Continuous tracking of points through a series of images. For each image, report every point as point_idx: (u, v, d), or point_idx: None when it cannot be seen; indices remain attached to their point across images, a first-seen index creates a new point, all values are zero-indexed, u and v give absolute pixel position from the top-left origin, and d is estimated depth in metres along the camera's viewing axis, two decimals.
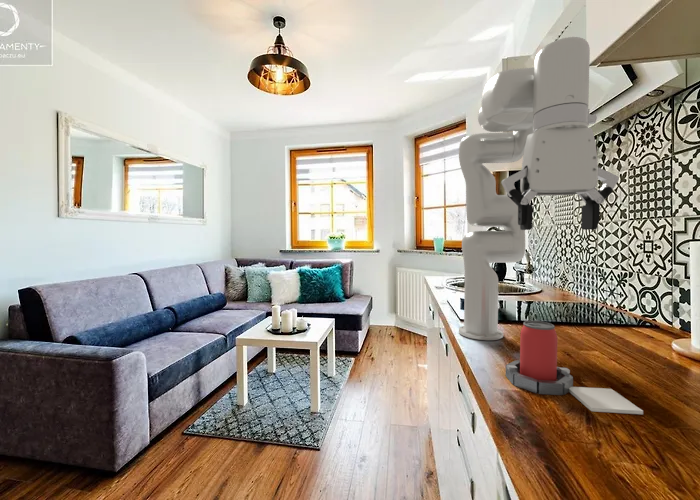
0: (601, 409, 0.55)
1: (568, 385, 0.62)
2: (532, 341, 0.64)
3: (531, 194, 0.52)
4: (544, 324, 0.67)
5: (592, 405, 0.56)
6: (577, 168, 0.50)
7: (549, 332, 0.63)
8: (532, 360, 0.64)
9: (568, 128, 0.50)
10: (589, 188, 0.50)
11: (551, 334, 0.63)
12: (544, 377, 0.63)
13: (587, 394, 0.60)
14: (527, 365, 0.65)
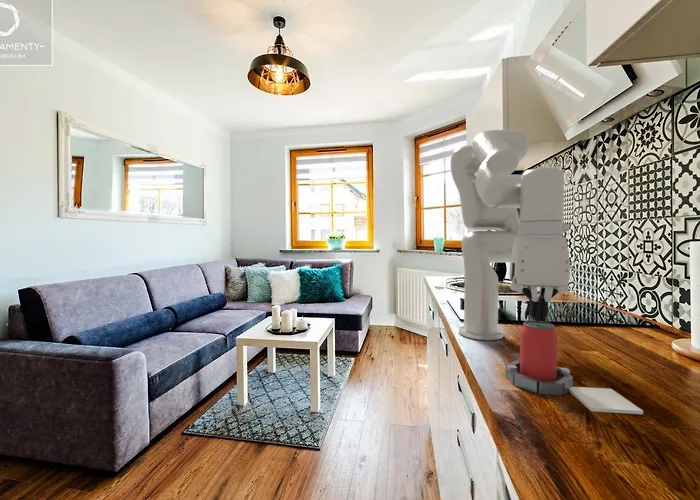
0: (601, 409, 0.55)
1: (568, 385, 0.62)
2: (532, 341, 0.64)
3: (534, 291, 0.65)
4: (544, 324, 0.67)
5: (592, 405, 0.56)
6: (553, 269, 0.63)
7: (549, 332, 0.63)
8: (532, 360, 0.64)
9: (546, 238, 0.63)
10: (563, 285, 0.64)
11: (551, 334, 0.63)
12: (544, 377, 0.63)
13: (587, 394, 0.60)
14: (527, 365, 0.65)
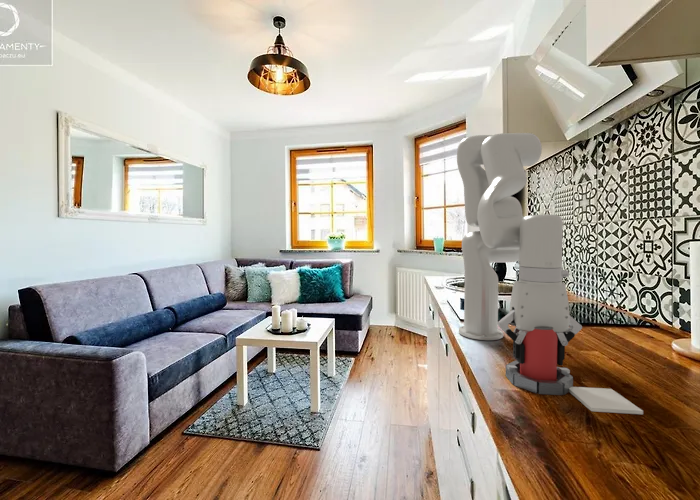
0: (601, 409, 0.55)
1: (568, 385, 0.62)
2: (532, 341, 0.64)
3: (522, 335, 0.65)
4: None
5: (592, 405, 0.56)
6: (553, 316, 0.63)
7: (549, 332, 0.63)
8: (532, 360, 0.64)
9: (546, 285, 0.63)
10: (562, 331, 0.64)
11: (551, 334, 0.63)
12: (544, 377, 0.63)
13: (587, 394, 0.60)
14: (527, 365, 0.65)
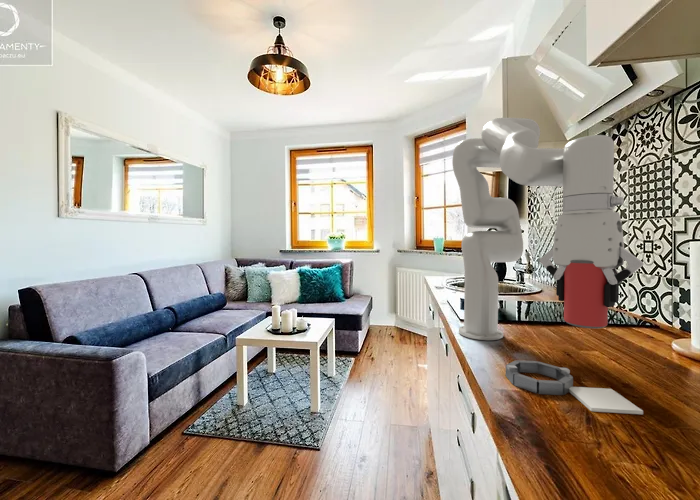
0: (601, 409, 0.55)
1: (568, 385, 0.62)
2: (567, 275, 0.60)
3: (560, 270, 0.62)
4: None
5: (592, 405, 0.56)
6: (592, 248, 0.57)
7: (585, 266, 0.57)
8: (567, 296, 0.60)
9: (582, 214, 0.58)
10: (607, 266, 0.56)
11: (587, 268, 0.57)
12: (577, 314, 0.58)
13: (587, 394, 0.60)
14: (564, 302, 0.61)
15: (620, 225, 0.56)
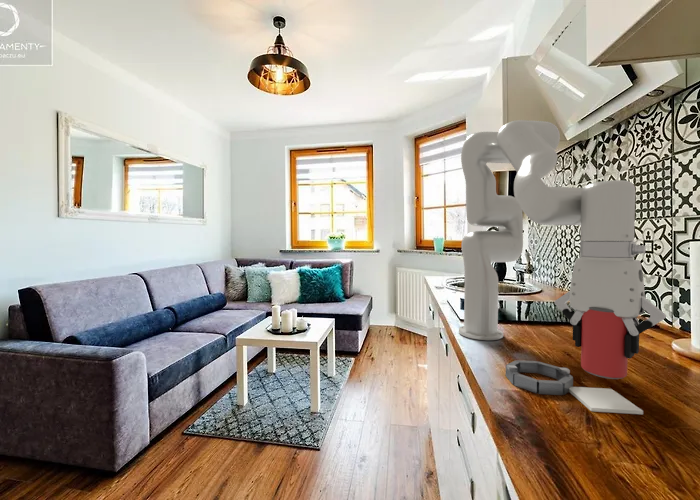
0: (601, 409, 0.55)
1: (568, 385, 0.62)
2: (585, 322, 0.58)
3: (577, 315, 0.60)
4: None
5: (592, 405, 0.56)
6: (612, 297, 0.55)
7: (605, 314, 0.56)
8: (585, 343, 0.58)
9: (601, 261, 0.56)
10: (628, 316, 0.54)
11: (607, 317, 0.55)
12: (597, 364, 0.56)
13: (587, 394, 0.60)
14: (582, 349, 0.59)
15: (640, 274, 0.55)
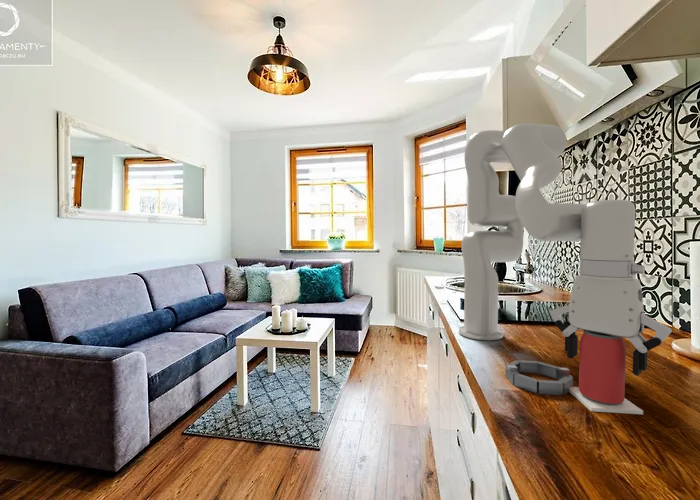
0: (601, 409, 0.55)
1: (568, 385, 0.62)
2: (583, 347, 0.59)
3: (571, 329, 0.61)
4: None
5: (592, 405, 0.56)
6: (611, 316, 0.55)
7: (603, 341, 0.56)
8: (583, 368, 0.59)
9: (601, 279, 0.56)
10: (627, 336, 0.54)
11: (605, 343, 0.56)
12: (594, 389, 0.57)
13: None
14: (580, 373, 0.60)
15: (640, 293, 0.55)
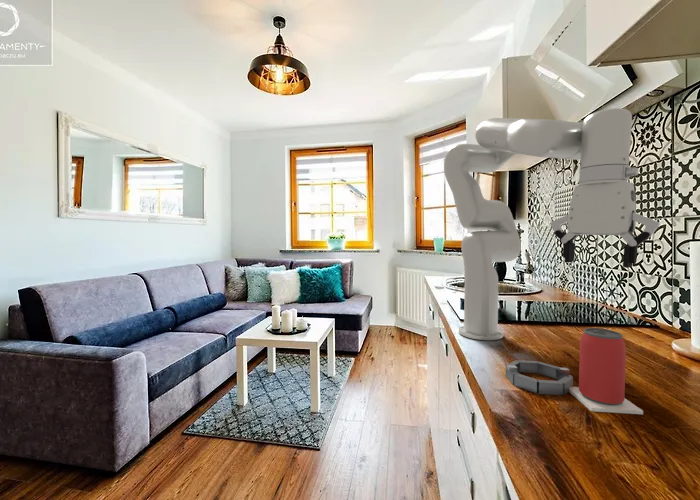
0: (601, 409, 0.55)
1: (568, 385, 0.62)
2: (583, 347, 0.59)
3: (569, 235, 0.67)
4: (614, 334, 0.58)
5: (592, 405, 0.56)
6: (606, 216, 0.61)
7: (603, 341, 0.56)
8: (583, 368, 0.59)
9: (598, 184, 0.61)
10: (619, 233, 0.60)
11: (605, 343, 0.56)
12: (594, 389, 0.57)
13: None
14: (580, 373, 0.60)
15: (633, 195, 0.60)
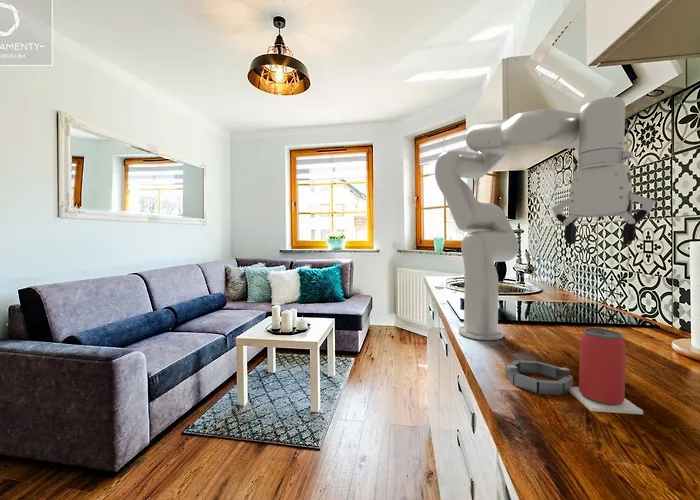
0: (601, 409, 0.55)
1: (568, 385, 0.62)
2: (583, 347, 0.59)
3: (570, 218, 0.70)
4: (614, 334, 0.58)
5: (592, 405, 0.56)
6: (605, 197, 0.65)
7: (603, 341, 0.56)
8: (583, 368, 0.59)
9: (596, 167, 0.65)
10: (618, 212, 0.63)
11: (605, 343, 0.56)
12: (594, 389, 0.57)
13: None
14: (580, 373, 0.60)
15: (629, 177, 0.64)
